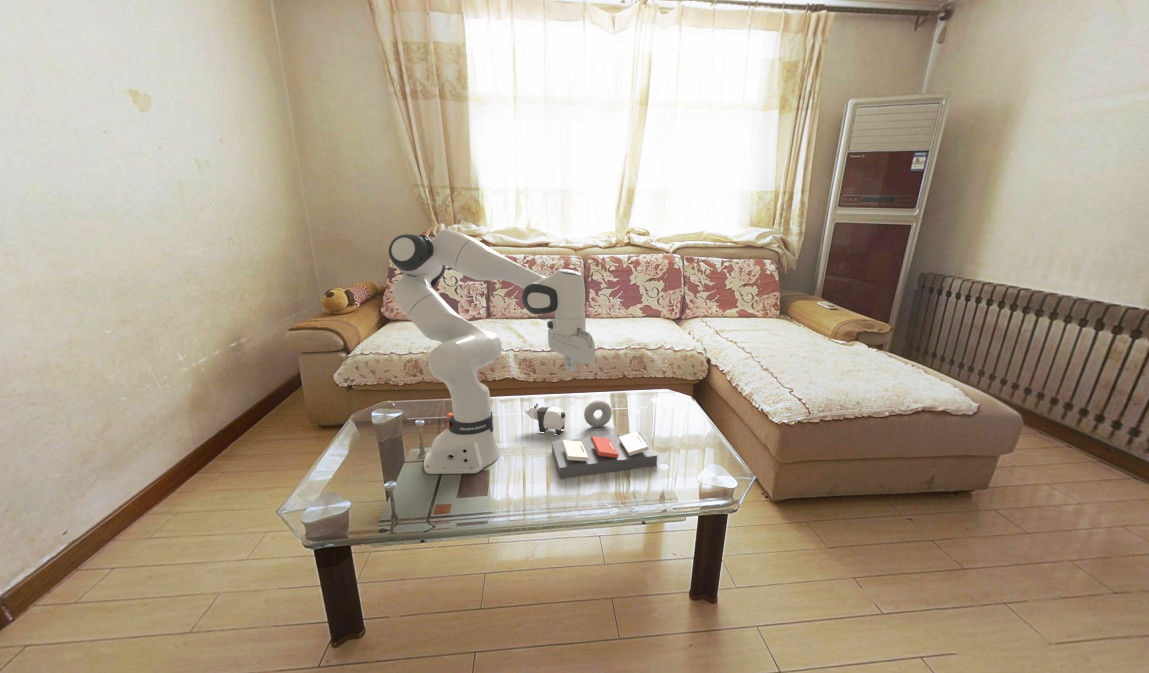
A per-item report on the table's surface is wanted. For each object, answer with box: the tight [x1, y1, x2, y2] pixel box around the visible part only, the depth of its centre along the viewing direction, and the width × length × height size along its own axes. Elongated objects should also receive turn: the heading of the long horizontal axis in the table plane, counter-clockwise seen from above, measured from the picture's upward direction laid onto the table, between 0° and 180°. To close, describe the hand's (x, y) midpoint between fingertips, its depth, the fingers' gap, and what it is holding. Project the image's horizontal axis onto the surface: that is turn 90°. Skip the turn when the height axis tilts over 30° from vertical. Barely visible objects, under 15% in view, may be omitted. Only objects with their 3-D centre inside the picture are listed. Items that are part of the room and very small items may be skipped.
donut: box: [583, 399, 613, 428], centre depth 148 cm, size 10×4×10 cm, turn 101°
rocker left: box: [561, 439, 589, 461], centre depth 123 cm, size 6×10×1 cm, turn 11°
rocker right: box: [619, 431, 648, 456], centre depth 127 cm, size 6×10×1 cm, turn 12°
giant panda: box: [524, 402, 566, 436], centre depth 145 cm, size 15×6×10 cm, turn 72°
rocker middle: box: [590, 435, 619, 458], centre depth 125 cm, size 6×10×1 cm, turn 11°
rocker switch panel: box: [551, 431, 658, 480], centre depth 128 cm, size 29×15×4 cm, turn 101°
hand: (571, 370), depth 125 cm, fingers closed
